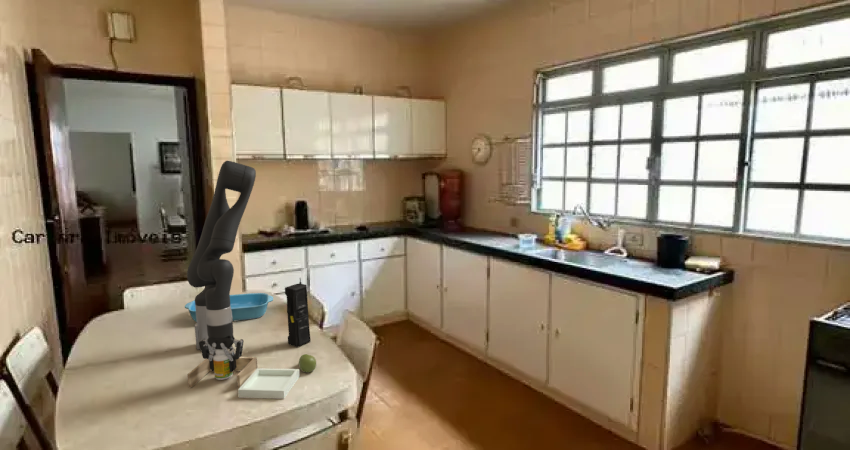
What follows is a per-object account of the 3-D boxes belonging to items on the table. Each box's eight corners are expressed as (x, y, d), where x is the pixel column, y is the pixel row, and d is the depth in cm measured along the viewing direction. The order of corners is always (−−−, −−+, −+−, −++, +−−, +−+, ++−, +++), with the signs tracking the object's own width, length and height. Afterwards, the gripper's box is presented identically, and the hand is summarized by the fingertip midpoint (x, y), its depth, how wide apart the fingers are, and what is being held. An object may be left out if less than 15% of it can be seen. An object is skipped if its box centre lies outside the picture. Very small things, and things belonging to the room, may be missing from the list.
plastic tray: (238, 397, 140) (237, 389, 140) (257, 375, 154) (257, 368, 153) (284, 398, 139) (283, 390, 139) (299, 376, 153) (299, 369, 153)
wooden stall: (188, 387, 146) (187, 374, 145) (209, 368, 159) (208, 356, 158) (240, 388, 145) (239, 375, 144) (257, 369, 158) (256, 357, 157)
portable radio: (296, 349, 174) (293, 284, 170) (285, 345, 177) (281, 281, 174) (312, 341, 181) (308, 279, 177) (300, 338, 184) (297, 276, 180)
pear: (300, 359, 153) (295, 353, 162) (301, 375, 153) (296, 368, 162) (317, 356, 155) (311, 349, 164) (318, 372, 155) (313, 364, 164)
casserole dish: (274, 304, 227) (273, 289, 226) (273, 319, 206) (273, 303, 205) (190, 312, 217) (189, 297, 215) (181, 329, 195) (179, 312, 194)
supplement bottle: (226, 380, 148) (224, 351, 147) (211, 379, 149) (208, 350, 148) (236, 373, 153) (234, 345, 152) (221, 371, 155) (219, 343, 153)
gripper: (191, 324, 145) (195, 375, 148) (236, 325, 144) (240, 376, 147) (203, 316, 153) (208, 365, 155) (246, 316, 152) (250, 365, 154)
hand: (223, 370), depth 151 cm, fingers closed on supplement bottle, 5 cm apart
